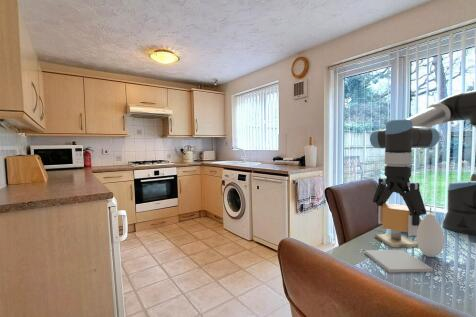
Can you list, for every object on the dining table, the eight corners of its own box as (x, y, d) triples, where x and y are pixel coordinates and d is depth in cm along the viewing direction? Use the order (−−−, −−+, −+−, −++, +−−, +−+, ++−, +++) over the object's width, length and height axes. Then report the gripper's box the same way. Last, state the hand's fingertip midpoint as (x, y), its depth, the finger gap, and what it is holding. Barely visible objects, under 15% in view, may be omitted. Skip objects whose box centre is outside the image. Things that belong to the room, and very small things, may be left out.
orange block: (411, 232, 76) (412, 210, 76) (382, 228, 80) (382, 207, 80) (409, 225, 83) (410, 205, 83) (382, 221, 87) (383, 203, 87)
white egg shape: (447, 262, 81) (448, 210, 80) (418, 258, 84) (419, 208, 84) (439, 253, 88) (441, 205, 87) (413, 249, 91) (414, 203, 91)
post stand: (399, 236, 105) (400, 211, 105) (419, 246, 94) (419, 218, 94) (375, 236, 105) (375, 211, 104) (392, 247, 94) (392, 219, 93)
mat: (401, 252, 89) (401, 249, 89) (432, 271, 75) (432, 268, 75) (364, 253, 89) (364, 250, 89) (389, 272, 75) (389, 269, 75)
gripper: (443, 167, 70) (441, 240, 71) (379, 163, 93) (378, 218, 94) (422, 168, 68) (420, 242, 69) (362, 163, 92) (361, 219, 92)
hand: (396, 228), depth 82 cm, fingers closed on orange block, 11 cm apart
